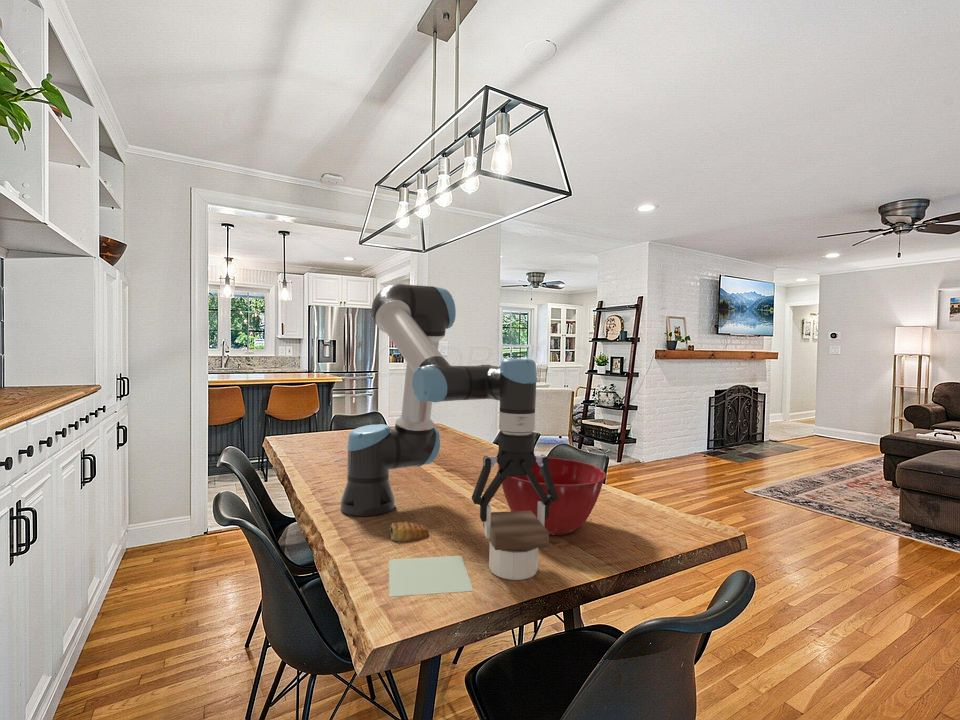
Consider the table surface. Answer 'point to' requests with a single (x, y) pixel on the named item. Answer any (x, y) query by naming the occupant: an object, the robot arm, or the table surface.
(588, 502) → the mixing bowl
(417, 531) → the pastry
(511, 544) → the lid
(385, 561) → the table surface
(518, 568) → the bowl
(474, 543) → the table surface
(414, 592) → the mat
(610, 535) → the table surface
